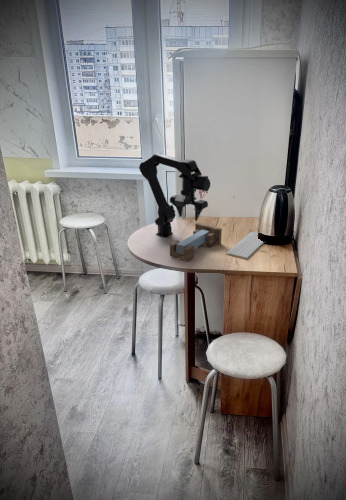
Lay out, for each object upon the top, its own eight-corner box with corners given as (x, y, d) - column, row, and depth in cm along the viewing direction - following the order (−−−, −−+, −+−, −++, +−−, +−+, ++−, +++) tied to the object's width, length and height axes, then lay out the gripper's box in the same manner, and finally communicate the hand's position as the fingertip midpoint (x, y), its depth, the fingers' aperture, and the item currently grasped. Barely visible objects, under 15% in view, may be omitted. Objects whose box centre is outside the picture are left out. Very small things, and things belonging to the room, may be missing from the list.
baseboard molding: (222, 254, 181) (246, 260, 176) (223, 249, 180) (247, 255, 174) (248, 232, 205) (270, 237, 199) (249, 227, 204) (271, 232, 198)
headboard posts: (166, 254, 180) (166, 239, 176) (197, 237, 199) (197, 222, 195) (191, 263, 172) (191, 246, 169) (221, 243, 191) (221, 228, 188)
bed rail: (176, 252, 177) (176, 244, 175) (202, 237, 193) (202, 229, 191) (183, 255, 175) (183, 246, 173) (209, 239, 191) (209, 231, 189)
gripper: (162, 188, 182) (163, 219, 188) (195, 195, 172) (195, 227, 178) (176, 183, 190) (176, 213, 196) (209, 189, 180) (207, 220, 186)
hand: (188, 218), depth 189 cm, fingers open, 9 cm apart
